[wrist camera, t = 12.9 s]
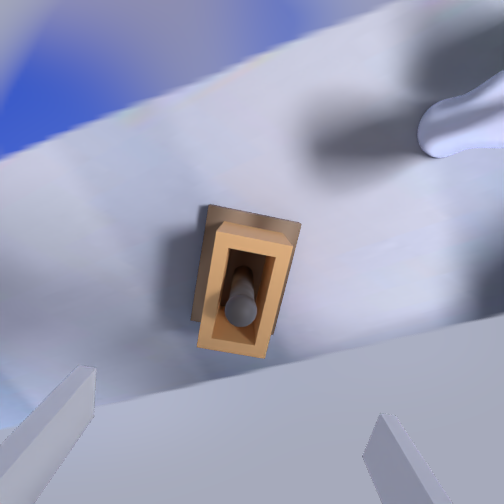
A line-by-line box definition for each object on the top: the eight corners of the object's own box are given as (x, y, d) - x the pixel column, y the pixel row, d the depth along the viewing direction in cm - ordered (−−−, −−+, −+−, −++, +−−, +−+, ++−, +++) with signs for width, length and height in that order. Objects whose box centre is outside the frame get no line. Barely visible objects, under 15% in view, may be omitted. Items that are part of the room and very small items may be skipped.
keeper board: (299, 222, 30) (331, 242, 18) (272, 328, 33) (284, 402, 22) (210, 204, 29) (185, 213, 17) (193, 314, 33) (162, 383, 21)
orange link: (224, 221, 28) (216, 231, 21) (282, 233, 28) (293, 246, 22) (208, 312, 31) (196, 347, 24) (261, 322, 31) (264, 358, 25)
